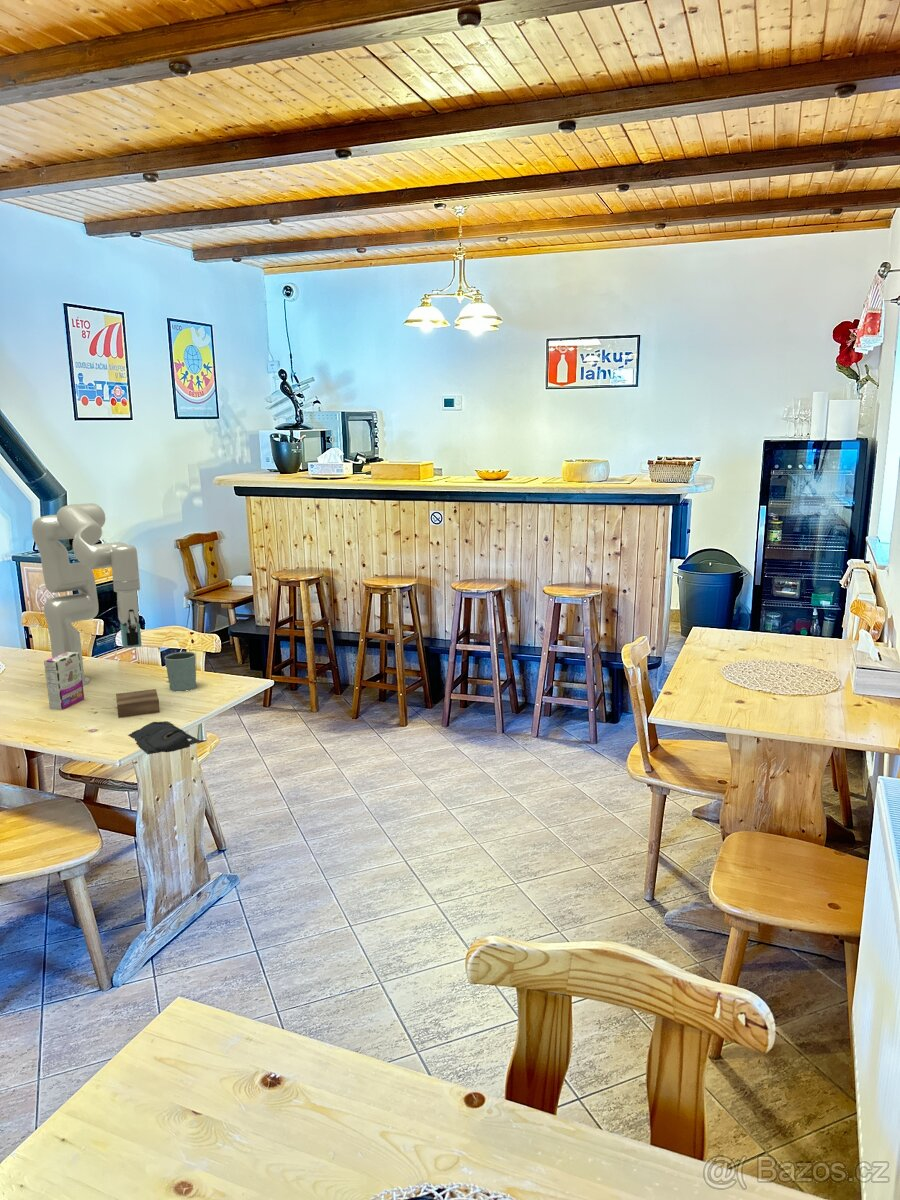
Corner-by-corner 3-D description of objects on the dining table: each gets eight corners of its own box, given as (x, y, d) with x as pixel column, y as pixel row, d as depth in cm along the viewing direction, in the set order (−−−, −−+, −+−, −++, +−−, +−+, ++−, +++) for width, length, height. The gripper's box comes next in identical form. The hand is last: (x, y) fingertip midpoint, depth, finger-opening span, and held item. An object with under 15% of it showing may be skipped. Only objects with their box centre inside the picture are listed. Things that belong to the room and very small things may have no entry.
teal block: (122, 644, 249) (120, 623, 247) (139, 642, 251) (137, 621, 250) (124, 648, 245) (122, 626, 243) (141, 646, 247) (139, 624, 246)
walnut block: (117, 708, 255) (116, 693, 254) (156, 703, 260) (155, 689, 259) (118, 720, 245) (117, 705, 244) (159, 715, 249) (158, 699, 248)
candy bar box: (71, 699, 264) (66, 651, 261) (85, 699, 263) (80, 652, 260) (48, 710, 253) (43, 660, 250) (62, 711, 252) (57, 661, 249)
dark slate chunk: (175, 726, 240) (174, 711, 239) (204, 748, 223) (203, 732, 222) (123, 738, 230) (121, 722, 229) (149, 761, 214) (147, 745, 213)
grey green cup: (201, 690, 272) (198, 656, 270) (170, 695, 267) (167, 660, 265) (193, 682, 281) (191, 650, 279) (164, 687, 276) (161, 654, 274)
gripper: (109, 582, 250) (114, 638, 253) (117, 591, 235) (122, 650, 239) (135, 580, 253) (139, 635, 257) (144, 588, 239) (149, 647, 242)
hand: (131, 642), depth 248 cm, fingers closed on teal block, 5 cm apart
